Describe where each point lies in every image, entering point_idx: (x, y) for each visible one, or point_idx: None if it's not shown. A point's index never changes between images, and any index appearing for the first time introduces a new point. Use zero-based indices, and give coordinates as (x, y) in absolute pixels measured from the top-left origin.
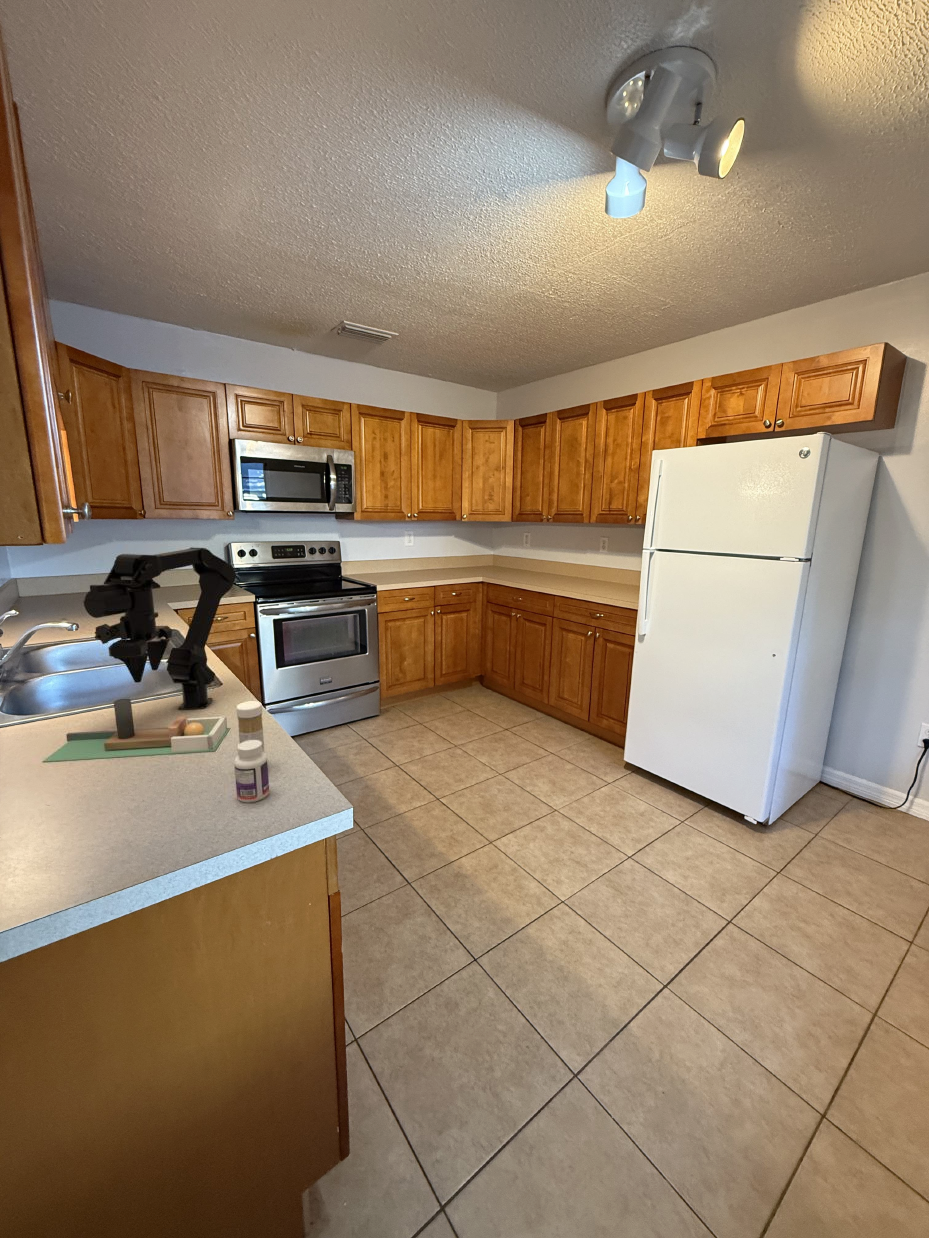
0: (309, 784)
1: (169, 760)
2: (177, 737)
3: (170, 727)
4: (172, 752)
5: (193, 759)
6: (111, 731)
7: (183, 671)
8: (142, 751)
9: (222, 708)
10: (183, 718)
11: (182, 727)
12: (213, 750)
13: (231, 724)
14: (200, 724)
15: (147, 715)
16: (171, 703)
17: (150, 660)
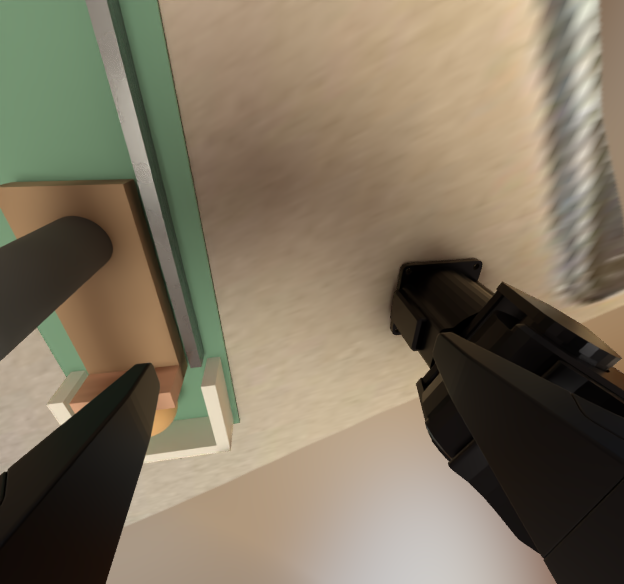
0: None
1: (28, 380)
2: (61, 414)
3: (78, 406)
4: (69, 373)
5: (51, 419)
6: (133, 148)
7: (443, 411)
8: None
9: (379, 366)
10: (162, 406)
11: None
12: None
13: (264, 415)
14: (151, 436)
15: (375, 177)
16: (476, 214)
17: (494, 384)
